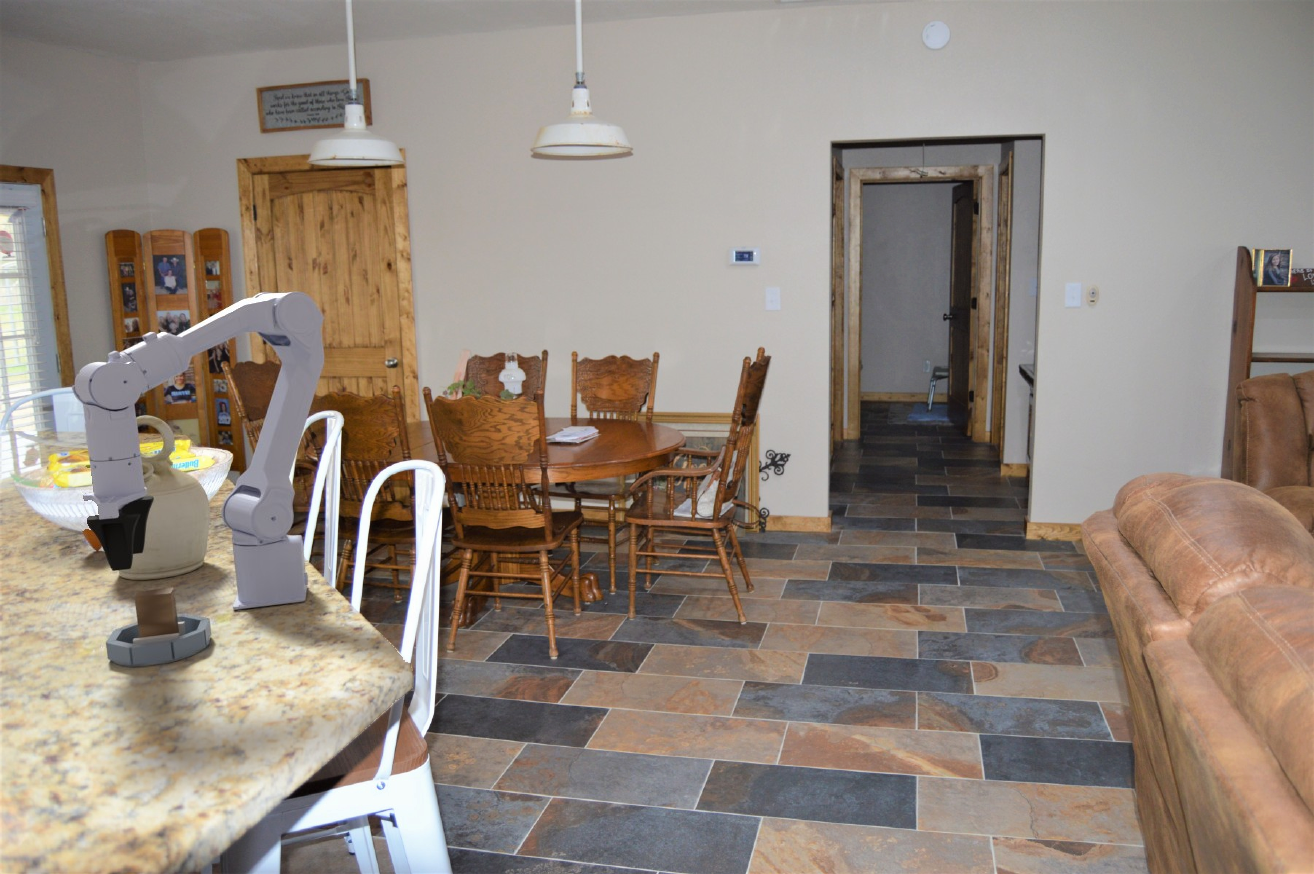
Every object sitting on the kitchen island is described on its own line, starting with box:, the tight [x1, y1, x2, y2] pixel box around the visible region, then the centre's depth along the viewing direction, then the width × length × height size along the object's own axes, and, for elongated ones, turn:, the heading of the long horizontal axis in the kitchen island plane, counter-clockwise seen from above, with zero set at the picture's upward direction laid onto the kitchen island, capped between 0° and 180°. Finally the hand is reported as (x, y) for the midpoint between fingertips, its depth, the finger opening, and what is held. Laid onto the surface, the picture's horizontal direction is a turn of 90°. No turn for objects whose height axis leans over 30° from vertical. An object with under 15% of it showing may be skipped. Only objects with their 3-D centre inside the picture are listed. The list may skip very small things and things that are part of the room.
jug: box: [118, 415, 211, 581], centre depth 154 cm, size 15×16×25 cm
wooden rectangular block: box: [134, 587, 179, 638], centre depth 120 cm, size 4×2×7 cm, turn 108°
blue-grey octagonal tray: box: [105, 613, 212, 668], centre depth 121 cm, size 11×11×2 cm
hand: (128, 561), depth 125 cm, fingers open, 7 cm apart
